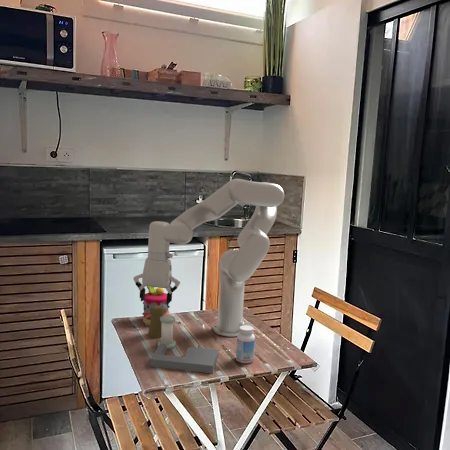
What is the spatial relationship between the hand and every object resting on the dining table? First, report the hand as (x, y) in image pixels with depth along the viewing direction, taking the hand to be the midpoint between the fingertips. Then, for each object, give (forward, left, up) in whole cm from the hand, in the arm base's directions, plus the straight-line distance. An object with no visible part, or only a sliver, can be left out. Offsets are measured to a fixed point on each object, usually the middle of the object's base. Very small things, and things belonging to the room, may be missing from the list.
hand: (155, 301), depth 168 cm
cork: (-1, 0, -13) cm, 13 cm away
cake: (+3, -13, -13) cm, 19 cm away
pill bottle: (-35, +13, -13) cm, 39 cm away
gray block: (-16, +19, -13) cm, 28 cm away
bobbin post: (-7, +8, -13) cm, 16 cm away
